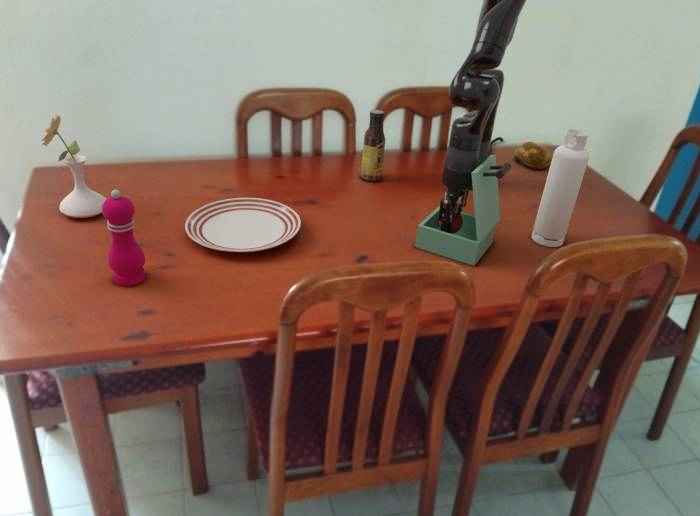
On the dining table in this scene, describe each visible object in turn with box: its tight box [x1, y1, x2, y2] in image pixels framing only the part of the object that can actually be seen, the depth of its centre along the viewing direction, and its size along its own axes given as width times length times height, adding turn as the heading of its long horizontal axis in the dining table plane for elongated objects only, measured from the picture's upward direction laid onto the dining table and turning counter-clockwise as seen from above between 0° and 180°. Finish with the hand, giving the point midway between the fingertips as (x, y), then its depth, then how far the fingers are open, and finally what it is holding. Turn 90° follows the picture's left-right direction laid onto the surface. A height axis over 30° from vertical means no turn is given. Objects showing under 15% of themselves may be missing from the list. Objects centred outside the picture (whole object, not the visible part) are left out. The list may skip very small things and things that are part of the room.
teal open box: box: [414, 205, 498, 267], centre depth 147 cm, size 15×14×6 cm
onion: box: [439, 208, 463, 234], centre depth 146 cm, size 6×6×8 cm
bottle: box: [530, 128, 590, 248], centre depth 147 cm, size 8×8×28 cm
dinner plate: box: [184, 197, 302, 253], centre depth 145 cm, size 27×27×3 cm
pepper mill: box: [101, 189, 146, 287], centre depth 121 cm, size 7×7×20 cm
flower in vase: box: [41, 114, 107, 219], centre depth 142 cm, size 13×11×25 cm
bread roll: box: [513, 141, 552, 170], centre depth 197 cm, size 13×10×8 cm
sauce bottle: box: [360, 109, 386, 182], centre depth 174 cm, size 7×6×20 cm
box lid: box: [472, 154, 512, 241], centre depth 137 cm, size 16×14×6 cm
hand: (449, 229), depth 147 cm, fingers closed on onion, 6 cm apart
